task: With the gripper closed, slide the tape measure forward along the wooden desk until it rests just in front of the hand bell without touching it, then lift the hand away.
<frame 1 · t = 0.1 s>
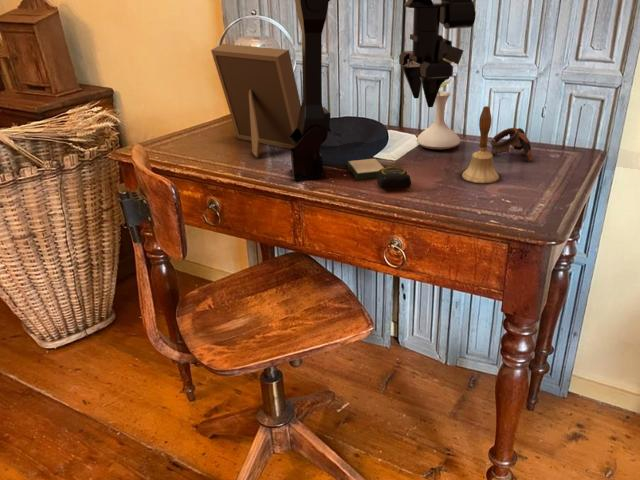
hand: (423, 102, 132), 15 cm above the table, tool pointing down, fingers open, 9 cm apart
brown leather strap: (512, 157, 143), on the table
hand bell: (480, 177, 131), on the table
photo frame: (259, 148, 153), on the table
flower in vase: (435, 146, 152), on the table
tan flat block: (366, 172, 135), on the table
tape measure: (394, 189, 125), on the table
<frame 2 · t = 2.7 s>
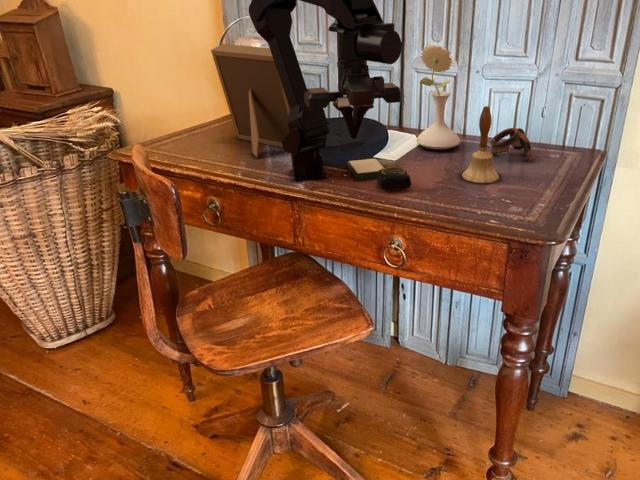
hand: (353, 138, 117), 12 cm above the table, tool pointing down, fingers closed
nothing on the table moved.
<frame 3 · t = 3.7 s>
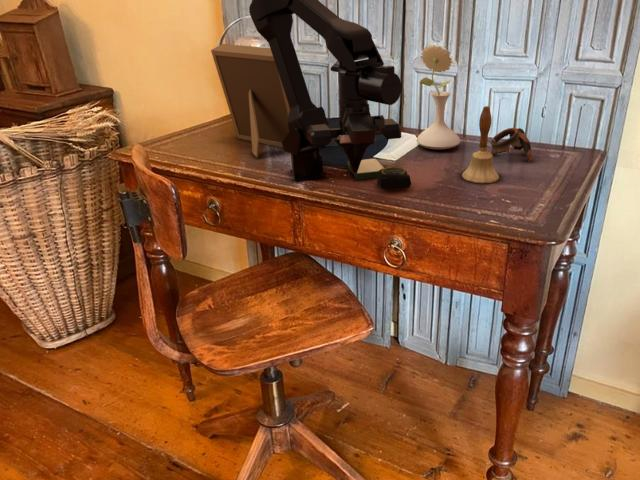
hand: (354, 172, 121), 5 cm above the table, tool pointing down, fingers closed
nothing on the table moved.
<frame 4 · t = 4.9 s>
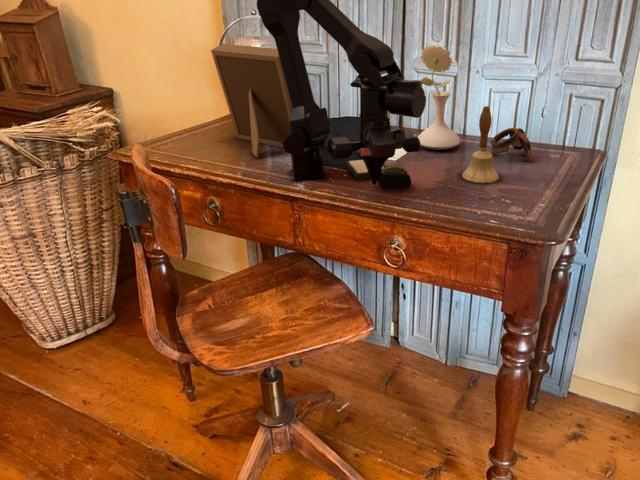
hand: (373, 184, 123), 2 cm above the table, tool pointing down, fingers closed
tape measure: (394, 189, 125), on the table, touching gripper
everything else where it was.
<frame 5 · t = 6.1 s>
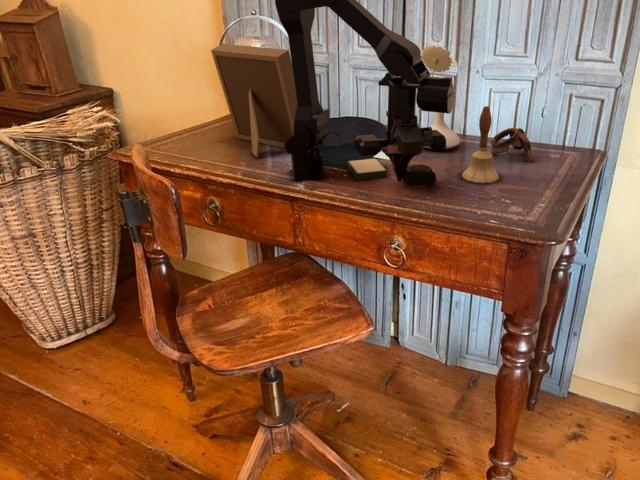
hand: (399, 181, 125), 2 cm above the table, tool pointing down, fingers closed
tape measure: (419, 186, 127), on the table, touching gripper
everything else where it was.
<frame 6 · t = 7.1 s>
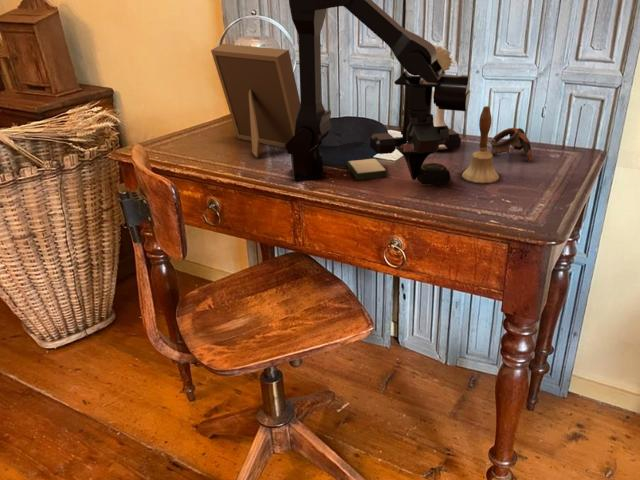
hand: (413, 179, 126), 2 cm above the table, tool pointing down, fingers closed
tape measure: (433, 184, 128), on the table, touching gripper
everything else where it was.
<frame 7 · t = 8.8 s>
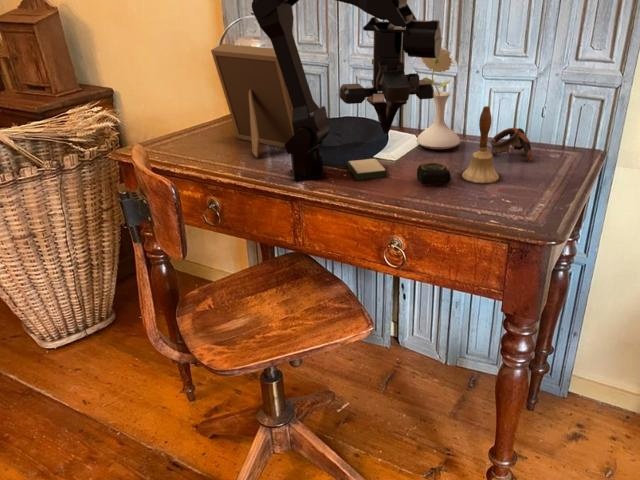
hand: (385, 133, 122), 12 cm above the table, tool pointing down, fingers closed
tape measure: (433, 184, 128), on the table
everything else where it was.
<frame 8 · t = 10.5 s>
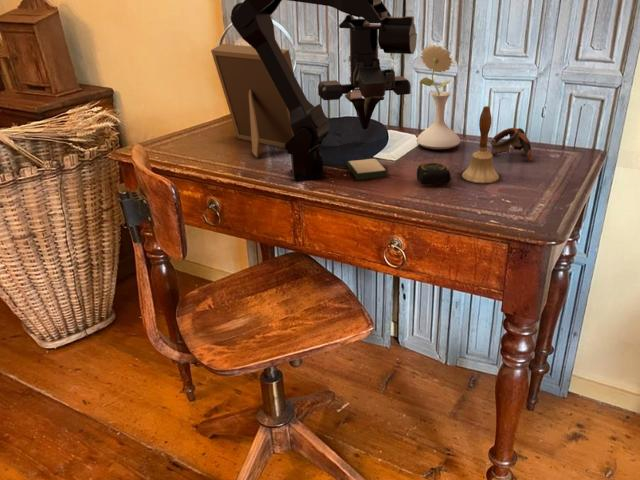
hand: (364, 128, 123), 12 cm above the table, tool pointing down, fingers closed
nothing on the table moved.
at the end: tape measure inside the target area (0.2 cm from its centre), on the table; tape measure 11.8 cm from the hand bell (horizontally); hand bell moved 0.2 cm from its start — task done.
